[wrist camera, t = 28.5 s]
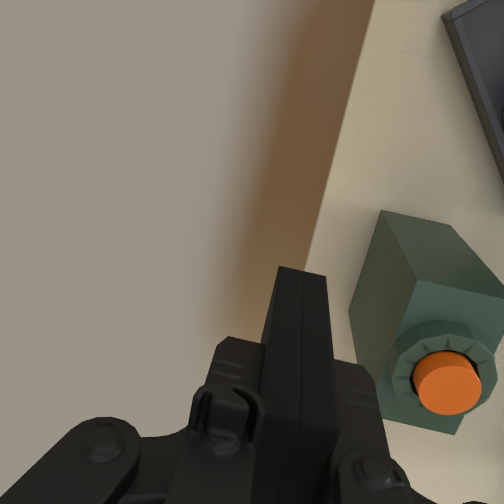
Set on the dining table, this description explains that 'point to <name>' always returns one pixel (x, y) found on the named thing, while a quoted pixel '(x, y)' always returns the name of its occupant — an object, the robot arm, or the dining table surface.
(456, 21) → the tray
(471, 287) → the post
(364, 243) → the dining table surface
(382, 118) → the dining table surface
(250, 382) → the robot arm
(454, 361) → the button
